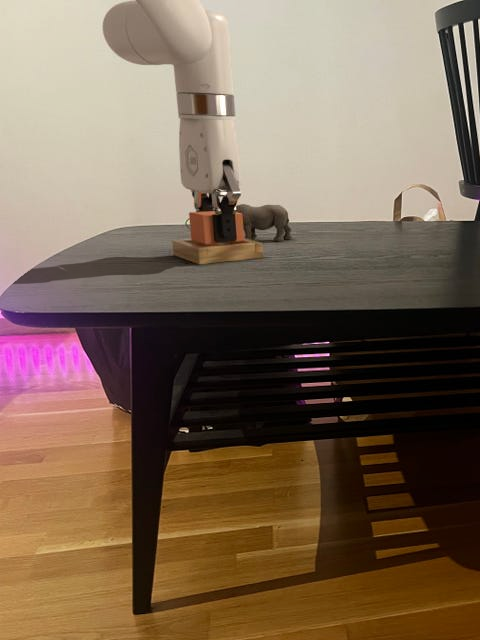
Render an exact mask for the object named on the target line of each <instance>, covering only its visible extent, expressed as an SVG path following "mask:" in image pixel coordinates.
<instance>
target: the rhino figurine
mask: <svg viewBox="0 0 480 640" xmlns="http://www.w3.org/2000/svg"><path fill="white" fill-rule="evenodd" d="M236 212H237V213H242V217H243V231H244V238H246V239H249V240H255V239H256V238H257V237H258V235H257V234H256V230H259V231H267V230H269V229H272V228H273V227H274V228H275V229H276V235H275V236H274V237H273V242H282V241H284V240H291V239H293V236H292V235H291V232H292V228H291V227H290V226H289V222H290V219H289V213H288V211H287V210H286V208H285V207H283V206H282V205H280V204H264V205H261V206H252V205H250V204H246V203H240V204H236Z"/></svg>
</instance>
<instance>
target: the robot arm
mask: <svg viewBox="0 0 480 640" xmlns="http://www.w3.org/2000/svg"><path fill="white" fill-rule="evenodd" d="M102 33H103V37H104V40H105V43H106V44H107V45H108V47H109V49H111V50H112V52H113V53H115V55H116V56H118V57H119V58H120V59H122V60H124V61H127V62H128V63H131V64H135V65H140V66H162V65H172V66H173V73H174V83H175V85H174V86H175V93H176V94H175V95H176V105H177V114H178V119H179V130H178V131H179V133H178V135H179V136H178V148H179V149H178V150H179V152H178V153H179V169H180V183H181V185H182V187H184V188H185V189H186V190H189V191H190V192H191V196H192V198H193V207H194V210H195V212H207V211H215V214H213V215H212V217H213V229H214V240H215V242H217V243H222V242H233V241H236V240H237V233H236V219H235V214H236V206H237V205H238V201H239V199H240V197H241V195H242V192H241V185H242V177H241V176H242V175H241V173H242V172H241V162H240V153H239V147H238V146H239V145H238V140H237V132H236V128H235V123H234V121H237V119H236V105H235V104H236V103H235V92H234V77H233V61H232V49H231V35H230V26H229V23H228V20H227V18H226V17H225V16H224V15H223V14H221V13H219V12H216V11H211V10H206V9H205V8H204V6H203V4H202V3H201V0H127V1H122V2H119V3H117V4H115V5H113V6H112V7H111V8H110V9H109V10H108V11H107V12H106V14H105V15H104V17H103V21H102ZM218 190H219V191H218ZM220 198H221V200H220Z"/></svg>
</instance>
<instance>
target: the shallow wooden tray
mask: <svg viewBox="0 0 480 640" xmlns="http://www.w3.org/2000/svg"><path fill="white" fill-rule="evenodd" d="M171 243H172V253H173V256H175V257H178V258H181V259H184V260H186V261H189V262H191V263H195V264H197V265H208V264H218V263H226V262H235V261H242V260H243V261H245V260H254V259H263V258H264V248H263V242H260V241H256V240H254V239H252V240H249V239H246V238H245V237H244V241H235V242H225V243H214V244H203V243H200V242H197V241H194V240H191V238H184V239H173V240H171Z"/></svg>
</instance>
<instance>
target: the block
mask: <svg viewBox="0 0 480 640" xmlns="http://www.w3.org/2000/svg"><path fill="white" fill-rule="evenodd" d="M213 214H215V211H207V212H196V211H191V212H188V219H189V227H190V228H189V229H190V239H191V240H194V241H197V242H200V243H203V244H214V243H217V242H215V240H214V229H213V217H212V215H213ZM235 219H236V233H237V240H236V241H244V238H245V231H244V230H243V217H242V213H237V212H236V214H235ZM233 242H235V241H233ZM222 243H225V242H222Z"/></svg>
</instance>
